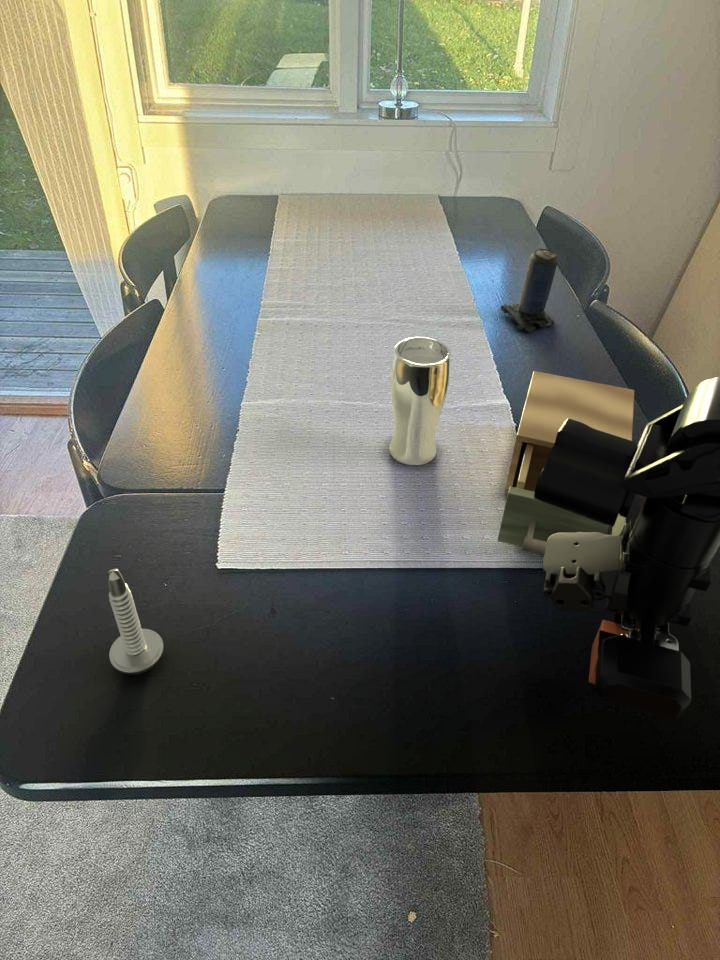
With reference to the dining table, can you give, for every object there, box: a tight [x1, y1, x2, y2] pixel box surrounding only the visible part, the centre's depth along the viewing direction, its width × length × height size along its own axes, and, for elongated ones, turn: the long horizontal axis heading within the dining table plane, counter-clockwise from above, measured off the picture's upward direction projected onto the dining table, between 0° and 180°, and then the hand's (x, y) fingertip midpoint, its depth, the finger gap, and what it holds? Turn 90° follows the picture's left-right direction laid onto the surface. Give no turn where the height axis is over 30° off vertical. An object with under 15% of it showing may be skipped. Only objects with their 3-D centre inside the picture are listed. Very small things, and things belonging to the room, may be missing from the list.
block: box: [588, 619, 636, 685], centre depth 61 cm, size 4×4×4 cm
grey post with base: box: [500, 248, 559, 333], centre depth 116 cm, size 9×8×12 cm
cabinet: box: [503, 370, 635, 495], centre depth 87 cm, size 15×13×9 cm
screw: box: [107, 568, 165, 676], centre depth 62 cm, size 13×5×5 cm
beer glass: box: [389, 336, 452, 466], centre depth 87 cm, size 7×7×15 cm
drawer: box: [497, 443, 609, 556], centre depth 78 cm, size 18×11×7 cm, turn 162°
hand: (616, 663), depth 62 cm, fingers closed on block, 4 cm apart
